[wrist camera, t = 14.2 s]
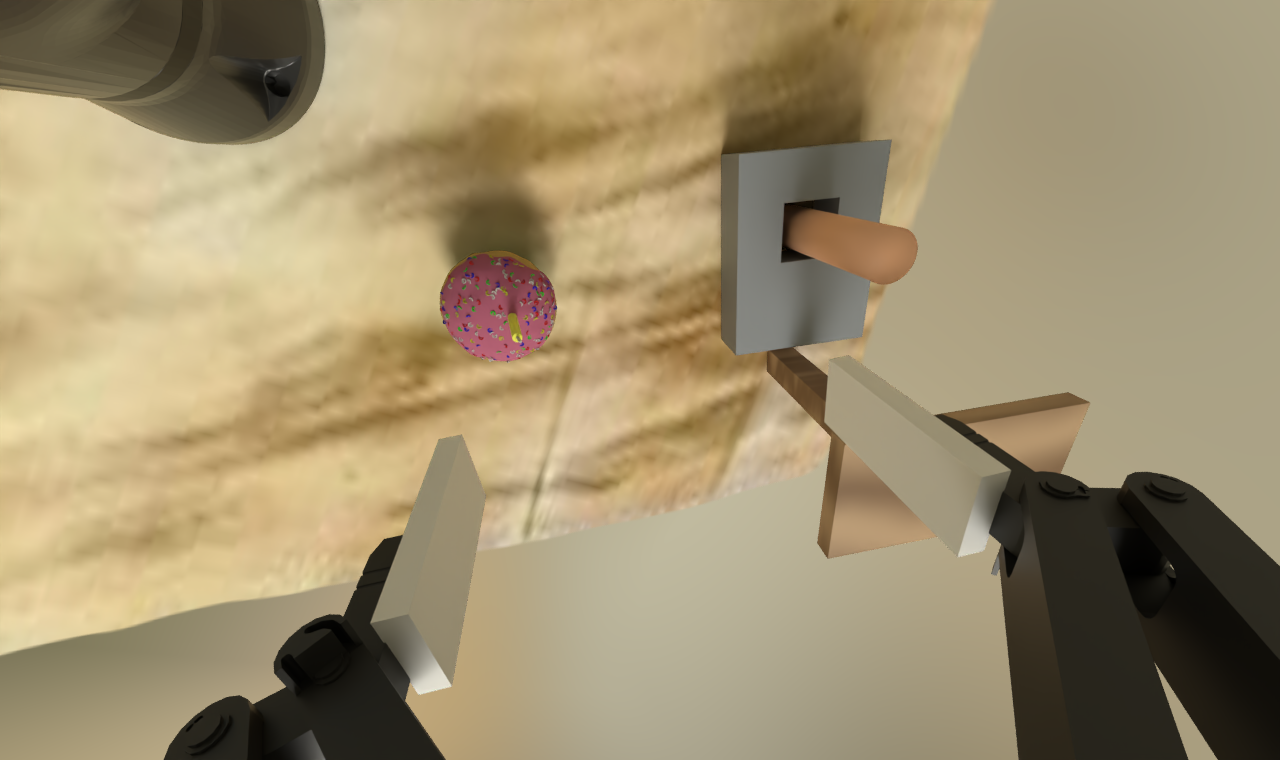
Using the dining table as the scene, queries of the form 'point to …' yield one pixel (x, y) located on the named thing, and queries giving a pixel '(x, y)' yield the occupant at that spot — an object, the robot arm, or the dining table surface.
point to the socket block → (788, 280)
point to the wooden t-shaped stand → (867, 506)
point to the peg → (850, 243)
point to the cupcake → (498, 305)
